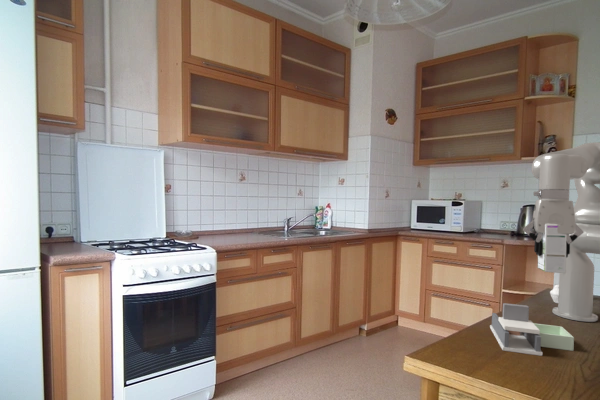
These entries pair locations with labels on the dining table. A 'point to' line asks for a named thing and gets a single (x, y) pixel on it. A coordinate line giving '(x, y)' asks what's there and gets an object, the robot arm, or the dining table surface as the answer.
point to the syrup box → (553, 250)
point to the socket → (555, 337)
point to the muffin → (555, 293)
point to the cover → (517, 319)
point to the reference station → (516, 339)
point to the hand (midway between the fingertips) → (551, 255)
